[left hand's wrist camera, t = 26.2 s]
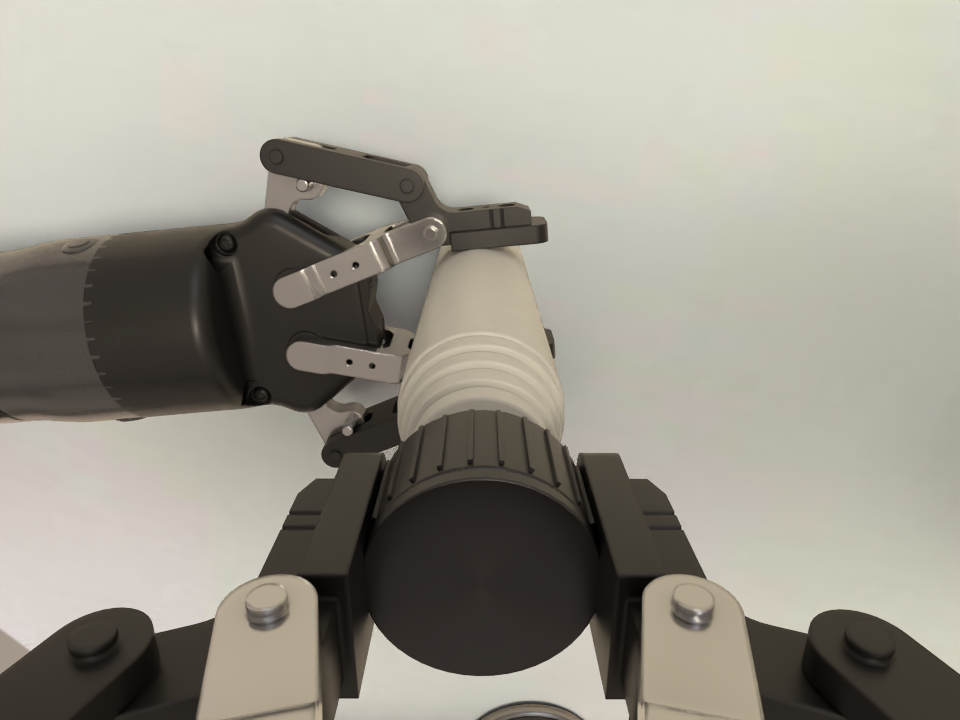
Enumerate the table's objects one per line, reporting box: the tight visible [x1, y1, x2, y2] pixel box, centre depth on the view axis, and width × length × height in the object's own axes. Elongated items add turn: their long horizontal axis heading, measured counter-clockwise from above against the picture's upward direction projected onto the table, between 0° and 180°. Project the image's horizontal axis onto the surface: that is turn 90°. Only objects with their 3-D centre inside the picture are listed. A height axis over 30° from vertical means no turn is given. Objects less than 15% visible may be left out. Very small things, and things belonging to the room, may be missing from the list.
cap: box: [364, 409, 600, 676], centre depth 11 cm, size 4×4×2 cm
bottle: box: [398, 245, 564, 442], centre depth 22 cm, size 4×4×24 cm
